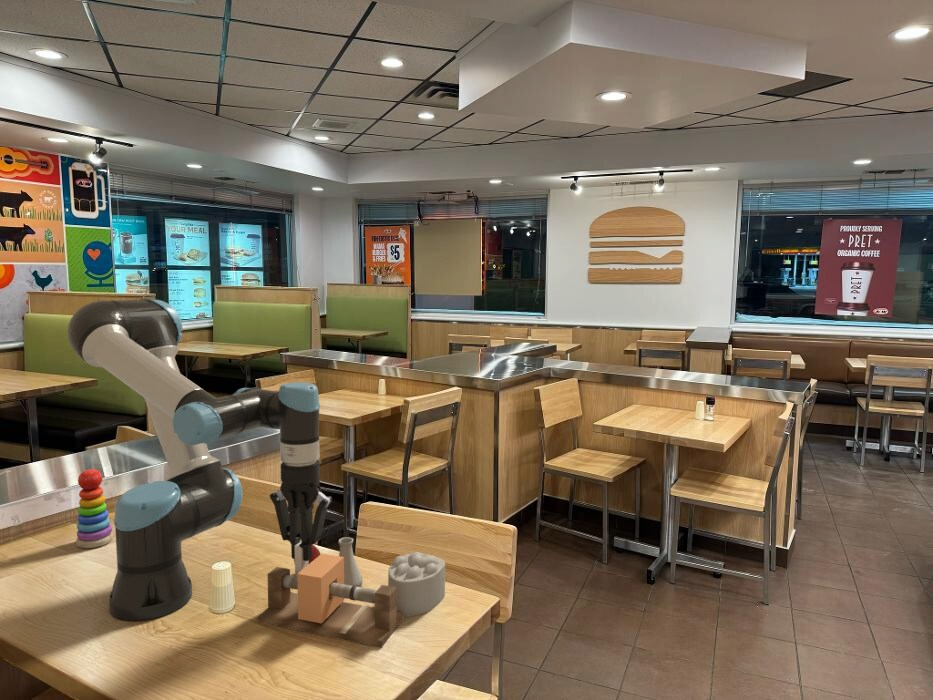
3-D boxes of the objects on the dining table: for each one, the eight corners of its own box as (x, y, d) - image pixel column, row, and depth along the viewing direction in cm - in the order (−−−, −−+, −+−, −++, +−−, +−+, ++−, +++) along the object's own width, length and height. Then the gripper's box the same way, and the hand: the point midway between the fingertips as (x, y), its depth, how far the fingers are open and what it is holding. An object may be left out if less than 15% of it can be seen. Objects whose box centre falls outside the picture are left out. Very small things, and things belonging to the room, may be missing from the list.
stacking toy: (81, 537, 156) (77, 465, 154) (117, 534, 158) (113, 463, 156) (71, 551, 148) (67, 475, 146) (109, 547, 151) (105, 472, 148)
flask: (355, 594, 131) (355, 549, 130) (323, 590, 132) (323, 545, 131) (367, 578, 138) (367, 535, 137) (337, 574, 139) (336, 531, 138)
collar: (298, 618, 118) (297, 573, 116) (322, 595, 126) (321, 553, 125) (321, 623, 116) (321, 577, 115) (344, 599, 125) (344, 557, 124)
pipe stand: (257, 622, 120) (257, 582, 119) (286, 597, 129) (286, 559, 128) (382, 647, 112) (382, 604, 111) (403, 618, 122) (403, 579, 121)
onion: (323, 568, 142) (323, 535, 141) (318, 581, 136) (317, 546, 135) (297, 568, 142) (297, 535, 141) (291, 581, 136) (291, 546, 135)
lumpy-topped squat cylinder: (450, 592, 133) (451, 553, 132) (420, 622, 121) (421, 580, 120) (408, 581, 137) (409, 543, 136) (375, 609, 125) (375, 568, 124)
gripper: (260, 463, 121) (263, 577, 124) (319, 469, 118) (321, 588, 120) (282, 453, 128) (284, 561, 131) (338, 459, 125) (339, 570, 127)
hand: (301, 574), depth 126 cm, fingers closed
